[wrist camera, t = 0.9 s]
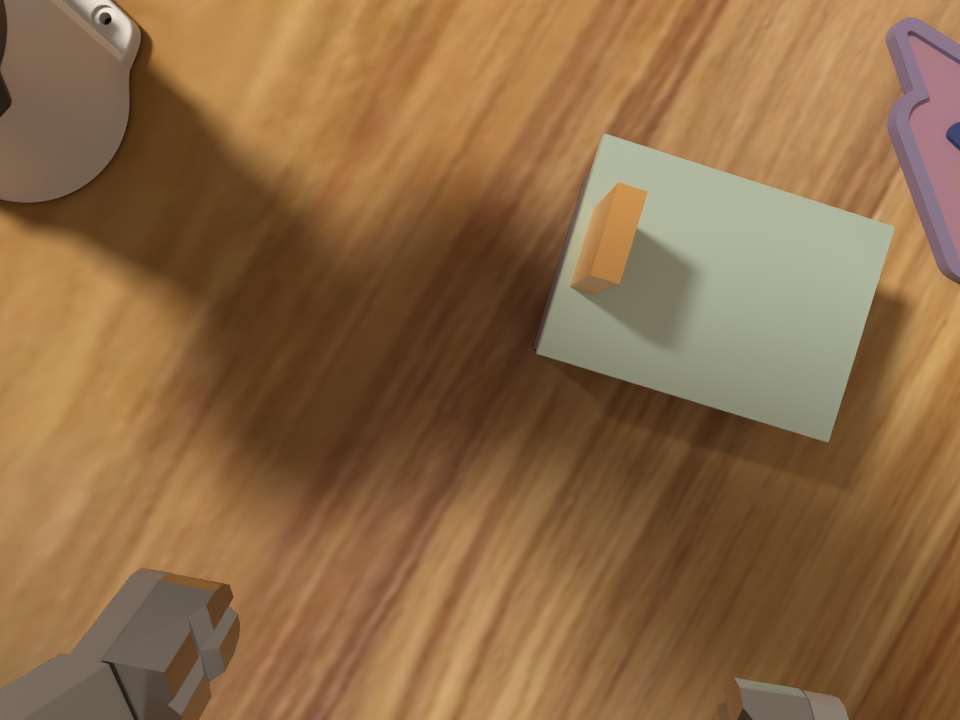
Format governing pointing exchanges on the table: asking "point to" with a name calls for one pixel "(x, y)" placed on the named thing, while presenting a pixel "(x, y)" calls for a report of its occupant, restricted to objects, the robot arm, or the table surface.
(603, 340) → the lid
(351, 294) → the table surface
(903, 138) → the icon
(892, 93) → the table surface
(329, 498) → the table surface
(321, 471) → the table surface
